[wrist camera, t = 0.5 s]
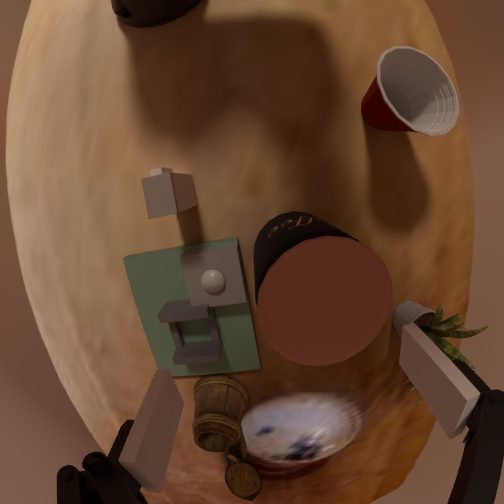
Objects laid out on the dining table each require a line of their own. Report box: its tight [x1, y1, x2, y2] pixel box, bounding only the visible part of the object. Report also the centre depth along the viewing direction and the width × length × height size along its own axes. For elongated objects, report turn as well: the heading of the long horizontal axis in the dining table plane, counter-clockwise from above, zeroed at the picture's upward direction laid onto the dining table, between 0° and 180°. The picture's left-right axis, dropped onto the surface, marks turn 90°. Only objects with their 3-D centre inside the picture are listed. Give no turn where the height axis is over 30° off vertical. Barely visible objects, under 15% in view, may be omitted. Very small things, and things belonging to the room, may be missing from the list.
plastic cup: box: [361, 46, 459, 136], centre depth 27 cm, size 11×11×12 cm
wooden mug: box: [192, 374, 262, 501], centre depth 35 cm, size 9×14×18 cm, turn 36°
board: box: [123, 237, 261, 376], centre depth 37 cm, size 20×16×6 cm
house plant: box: [392, 301, 488, 407], centre depth 32 cm, size 14×14×16 cm
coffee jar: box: [254, 211, 392, 366], centre depth 29 cm, size 11×11×18 cm
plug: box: [142, 167, 197, 219], centre depth 30 cm, size 5×3×10 cm, turn 9°
